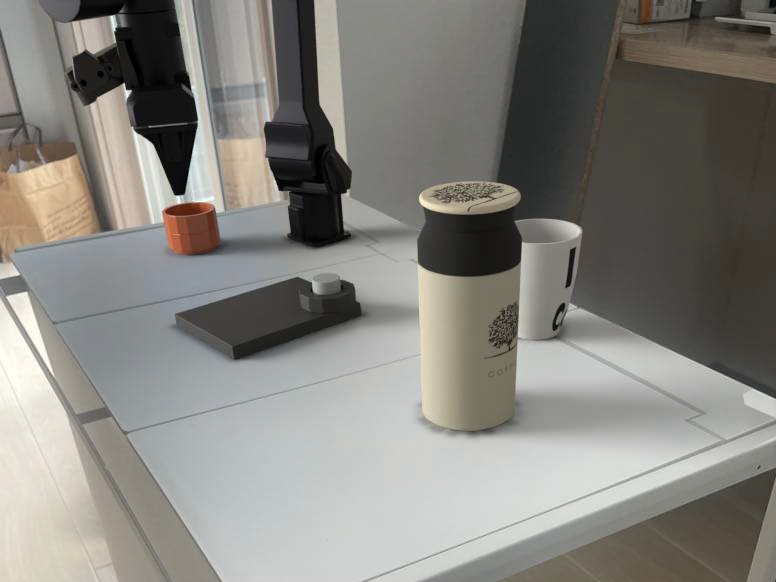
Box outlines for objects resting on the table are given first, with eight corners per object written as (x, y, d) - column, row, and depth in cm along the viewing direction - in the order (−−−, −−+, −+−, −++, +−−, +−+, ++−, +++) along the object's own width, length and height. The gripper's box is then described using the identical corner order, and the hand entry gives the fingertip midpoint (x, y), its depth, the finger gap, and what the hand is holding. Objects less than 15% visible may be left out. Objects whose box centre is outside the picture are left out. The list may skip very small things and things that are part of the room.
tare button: (330, 284, 91) (328, 270, 91) (346, 291, 90) (345, 277, 89) (307, 292, 90) (306, 277, 89) (324, 299, 88) (322, 284, 87)
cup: (572, 348, 82) (581, 245, 76) (489, 344, 84) (492, 242, 78) (575, 316, 88) (583, 219, 82) (498, 313, 90) (501, 217, 84)
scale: (302, 287, 99) (299, 261, 97) (367, 315, 91) (365, 288, 89) (176, 326, 91) (171, 299, 89) (236, 361, 83) (231, 332, 81)
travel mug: (403, 408, 73) (394, 193, 63) (474, 382, 77) (476, 174, 66) (461, 444, 68) (461, 215, 57) (533, 414, 72) (547, 193, 61)
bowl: (205, 236, 116) (198, 199, 113) (230, 247, 112) (224, 208, 109) (160, 248, 113) (152, 209, 110) (185, 259, 109) (177, 219, 106)
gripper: (65, 9, 85) (104, 171, 95) (47, 26, 71) (95, 216, 80) (176, 1, 87) (203, 161, 97) (180, 17, 73) (212, 204, 82)
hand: (178, 184), depth 89 cm, fingers open, 9 cm apart
